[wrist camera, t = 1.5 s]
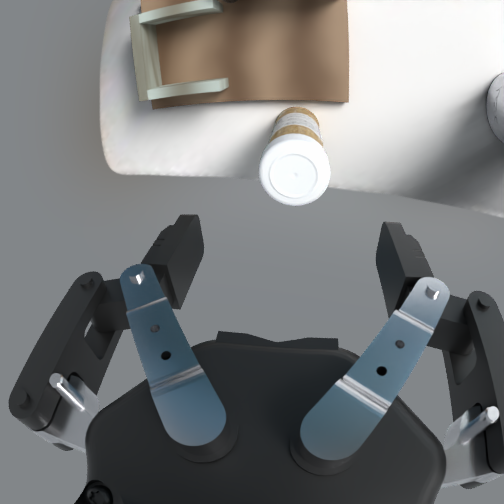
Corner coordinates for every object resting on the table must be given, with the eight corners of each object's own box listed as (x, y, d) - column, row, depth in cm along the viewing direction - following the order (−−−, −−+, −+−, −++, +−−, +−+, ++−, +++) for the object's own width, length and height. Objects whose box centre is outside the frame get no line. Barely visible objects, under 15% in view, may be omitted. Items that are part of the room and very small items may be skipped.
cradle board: (343, -18, 18) (350, -29, 15) (347, 101, 26) (354, 108, 23) (144, 0, 21) (123, -4, 18) (156, 107, 29) (137, 116, 26)
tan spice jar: (300, 155, 31) (298, 220, 20) (265, 129, 29) (242, 179, 19) (328, 124, 28) (346, 173, 17) (293, 96, 27) (288, 125, 16)
